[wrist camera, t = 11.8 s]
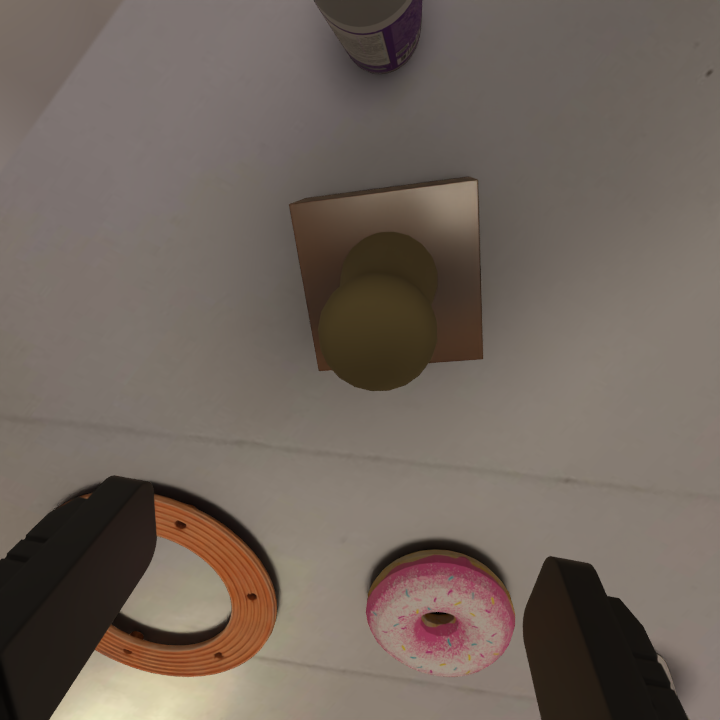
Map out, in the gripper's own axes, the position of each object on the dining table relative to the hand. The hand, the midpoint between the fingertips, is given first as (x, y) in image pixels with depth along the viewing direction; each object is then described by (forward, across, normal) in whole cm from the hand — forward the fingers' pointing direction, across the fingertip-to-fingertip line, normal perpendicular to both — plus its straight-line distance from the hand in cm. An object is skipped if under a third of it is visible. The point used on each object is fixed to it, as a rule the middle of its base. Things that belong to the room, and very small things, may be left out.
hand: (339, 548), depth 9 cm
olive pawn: (+22, 0, 0) cm, 22 cm away
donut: (+26, -9, +30) cm, 41 cm away
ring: (+26, +19, +36) cm, 48 cm away
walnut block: (+26, 0, 0) cm, 26 cm away
